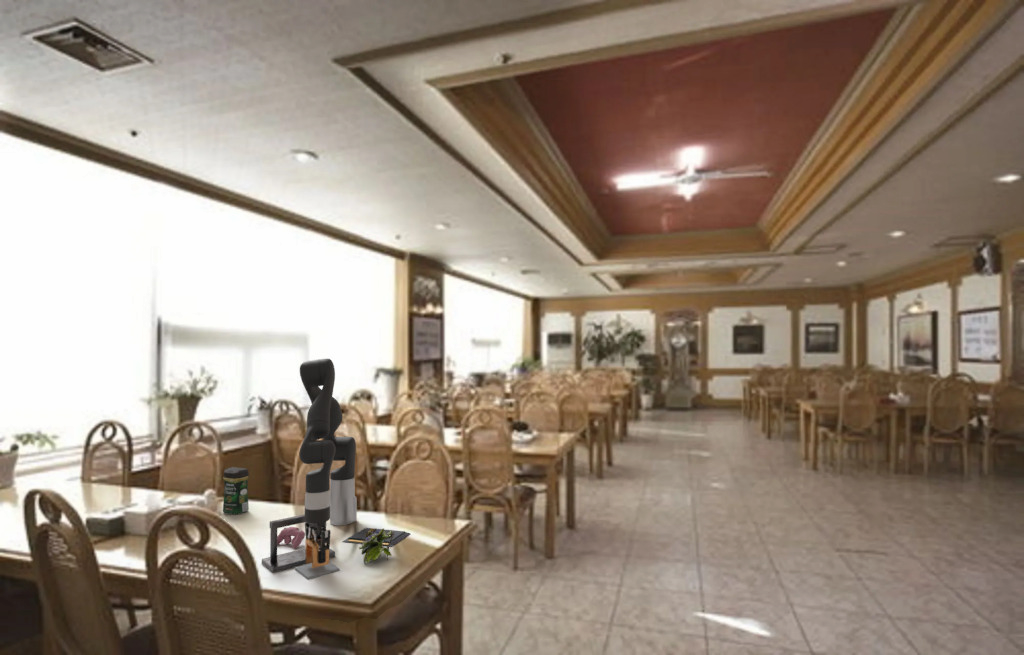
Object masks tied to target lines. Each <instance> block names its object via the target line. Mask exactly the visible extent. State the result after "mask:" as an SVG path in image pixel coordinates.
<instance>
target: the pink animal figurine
mask: <svg viewBox="0 0 1024 655" xmlns="http://www.w3.org/2000/svg"><path fill="white" fill-rule="evenodd" d="M305 538H306V535H305V531H304V530H302V529H301V528H299V527H296V526H286V527H283V529H282V530H281V531H280V532H279V533H278V534H277V546H278V545H280V544H281V543H282V542H284V544H286V545H290V544H291V545H292V549H293V550H295V549H297V548H298V547H299V546H300V545H301V544H302V542H303V540H304V539H305Z"/></svg>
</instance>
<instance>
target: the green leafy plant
mask: <svg viewBox="0 0 1024 655" xmlns="http://www.w3.org/2000/svg"><path fill="white" fill-rule="evenodd" d="M376 529H377V528H374V529H371V530H370V531H367V532H366V535H365V536H366V537H368V536H369V537H368V538H367V539H365V541H363V542H362V544H361V546H360V547H358V549H359V550H361V553H360V554H361V555H364V556H363V564H364V565H366V563H367V564H369V562H371V561H372V562H374V561H376V560H377V559H379V557H380V556H381V555H382V553H384V554H385V555H386V560H387V561H389V556H390V557H391V556H392V553H391V552H390V547H389V546H390V543H391V540H392V538H393V535H394V534H393V531H392V533H391V531H390V532H389V533H387V534H388V535H386V531H385V530H386V529H385V528H381V529H382V530H381V531H380V530H379V531H377V532H376V533H374V532H375V531H376ZM384 529H385V530H384ZM372 533H374V534H372ZM370 535H371V536H370ZM391 537H392V538H391ZM387 538H391V540H390V543H389V545H388V547H385V546H382V543H383V542H385V539H387Z"/></svg>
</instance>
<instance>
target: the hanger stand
mask: <svg viewBox="0 0 1024 655" xmlns="http://www.w3.org/2000/svg"><path fill="white" fill-rule="evenodd" d="M303 523H304V524H305V513H303V514H299V515H295V516H290V517H289V516H288V517H284V518H281V519H280V518H279V519H275V520H269V529H270V536H269V537H270V540H269V542H270V543H269V544H270V546H269V547H270V553H269V554H270V555H269V556H267V557H264V558H261V565H263V566H264V567H265V568H266V569H268V571H270V572H271V573H274V574H275V573H278V572H282V571H285V570H289V569H293V568H295V567H299V566H303V565H307V564H309V563H307V564H306V563H305V547H304V548H300V549H297V550H293V551H288V552H285V553H280V554H278V545H277V536H278V529H279V528H286V527H291V526H294V525H300V524H303ZM325 526H326V527H327V522H326V523H325ZM334 557H336V551H334V550H333V549H332V548H329V559H331V558H334ZM311 563H312V562H311Z"/></svg>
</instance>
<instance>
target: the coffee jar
mask: <svg viewBox="0 0 1024 655" xmlns="http://www.w3.org/2000/svg"><path fill="white" fill-rule="evenodd" d="M249 476H250V473H249V469H248V468H245V467H244V468H243V467H235V466H232V467H229V468H225V469H224V471H223V478H222V479H223V484H224V489H223V490H224V492H223V502H222V503H223V504H222V513H223V514H226V513H227V515H242V513H243V514H245V513H247V512H248V511H249V510H250V509H249V489H248V485H249V484H248V483H249Z"/></svg>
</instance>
